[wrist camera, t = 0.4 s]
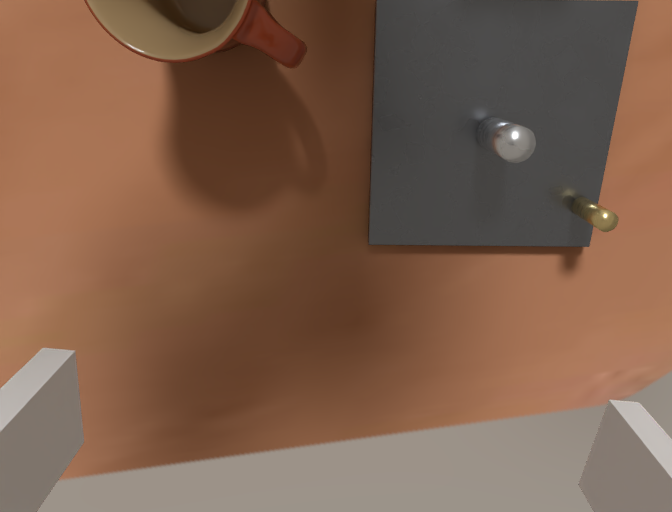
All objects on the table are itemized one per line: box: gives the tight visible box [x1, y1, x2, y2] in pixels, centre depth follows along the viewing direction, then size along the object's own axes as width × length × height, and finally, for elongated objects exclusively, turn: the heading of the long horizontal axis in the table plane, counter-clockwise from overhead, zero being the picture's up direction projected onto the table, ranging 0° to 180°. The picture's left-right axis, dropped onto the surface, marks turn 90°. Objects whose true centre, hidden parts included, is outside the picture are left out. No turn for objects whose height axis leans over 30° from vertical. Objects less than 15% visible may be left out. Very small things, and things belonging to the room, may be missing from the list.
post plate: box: [368, 0, 638, 247], centre depth 33 cm, size 17×17×6 cm
